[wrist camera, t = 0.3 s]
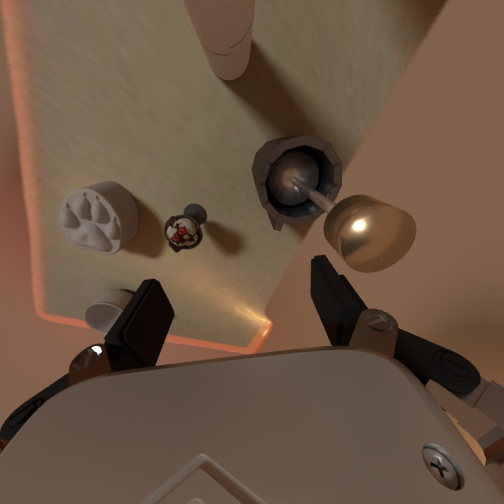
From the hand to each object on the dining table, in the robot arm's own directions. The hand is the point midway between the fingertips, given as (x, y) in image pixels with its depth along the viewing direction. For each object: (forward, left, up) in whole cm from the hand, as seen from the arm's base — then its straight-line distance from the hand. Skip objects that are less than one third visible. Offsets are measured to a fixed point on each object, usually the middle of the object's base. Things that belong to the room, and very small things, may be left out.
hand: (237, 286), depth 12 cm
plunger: (-5, +7, -21) cm, 23 cm away
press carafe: (-4, +7, -33) cm, 34 cm away
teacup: (+39, -22, -33) cm, 56 cm away
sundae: (+9, -8, -33) cm, 35 cm away
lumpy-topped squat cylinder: (+13, -25, -33) cm, 44 cm away
